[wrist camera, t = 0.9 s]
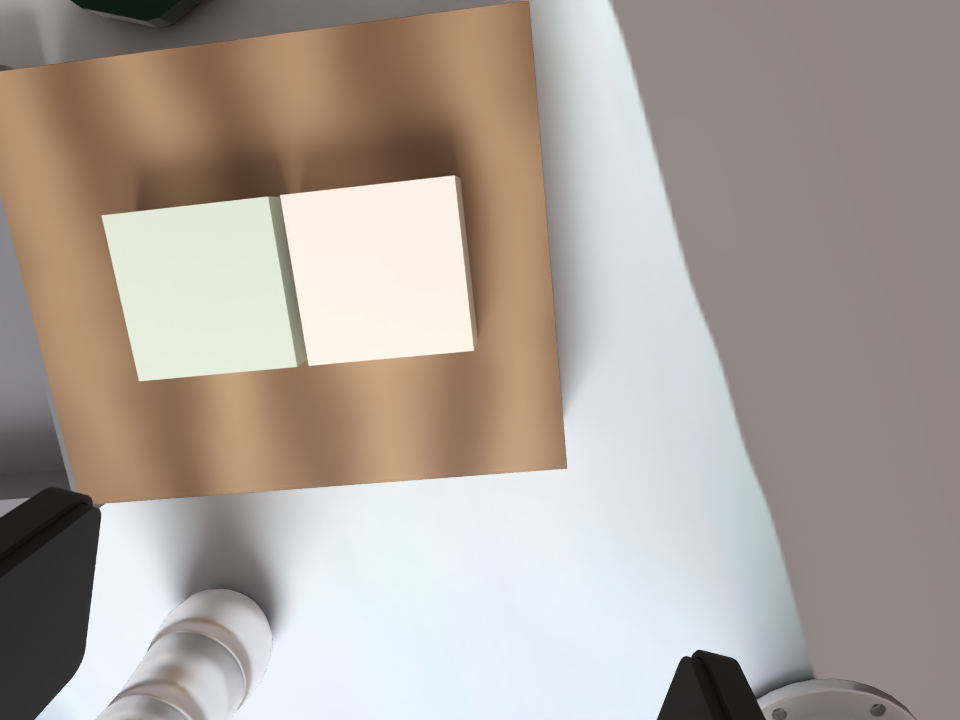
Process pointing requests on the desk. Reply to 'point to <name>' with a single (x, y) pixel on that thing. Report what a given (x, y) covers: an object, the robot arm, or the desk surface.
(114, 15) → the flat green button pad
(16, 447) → the bin
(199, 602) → the plastic bottle
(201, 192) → the wooden block
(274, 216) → the tile sage
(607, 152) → the desk surface
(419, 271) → the tile cream
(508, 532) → the desk surface
